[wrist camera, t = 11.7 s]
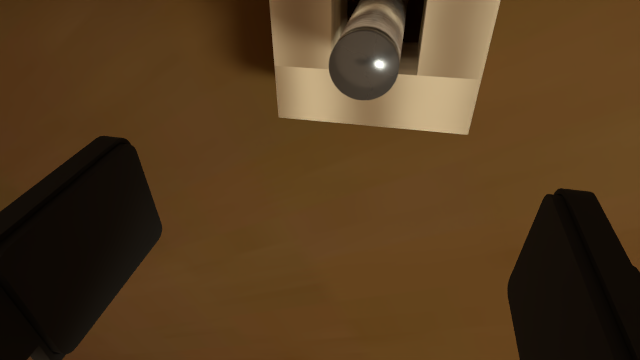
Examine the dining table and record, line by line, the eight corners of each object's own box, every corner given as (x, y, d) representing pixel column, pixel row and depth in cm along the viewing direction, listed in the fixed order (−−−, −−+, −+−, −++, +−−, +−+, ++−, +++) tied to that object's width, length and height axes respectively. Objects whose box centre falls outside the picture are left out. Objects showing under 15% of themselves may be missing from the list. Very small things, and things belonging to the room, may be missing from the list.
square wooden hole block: (504, -111, 22) (527, -110, 17) (460, 93, 29) (467, 134, 24) (293, -109, 24) (260, -107, 19) (300, 81, 31) (278, 117, 26)
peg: (410, -22, 25) (402, 33, 16) (405, 27, 27) (395, 103, 17) (363, -23, 26) (328, 29, 16) (361, 25, 27) (328, 97, 18)
